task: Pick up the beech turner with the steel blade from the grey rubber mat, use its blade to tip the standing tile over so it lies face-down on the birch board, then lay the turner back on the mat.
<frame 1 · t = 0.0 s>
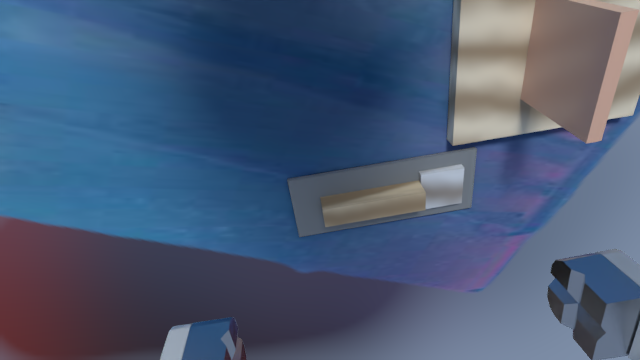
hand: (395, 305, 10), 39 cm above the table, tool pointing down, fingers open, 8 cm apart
turner: (370, 197, 56), point 1 cm above the table, touching mat
board: (549, 40, 47), on the table
mat: (383, 192, 56), on the table
tile: (534, 48, 45), point 2 cm above the table, touching board
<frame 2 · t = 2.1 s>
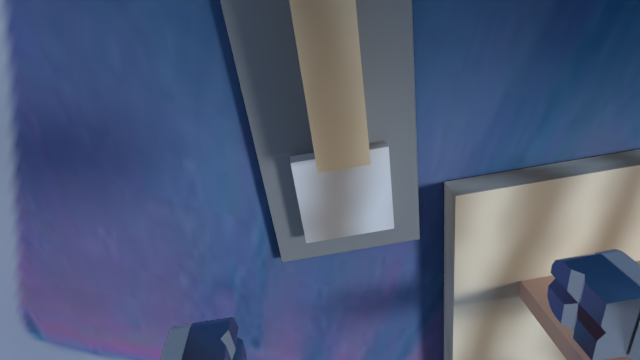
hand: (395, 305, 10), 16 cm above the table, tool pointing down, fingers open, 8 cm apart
turner: (321, 30, 21), point 1 cm above the table, touching mat
board: (574, 286, 33), on the table
mat: (325, 65, 23), on the table
tile: (598, 275, 29), point 2 cm above the table, touching board
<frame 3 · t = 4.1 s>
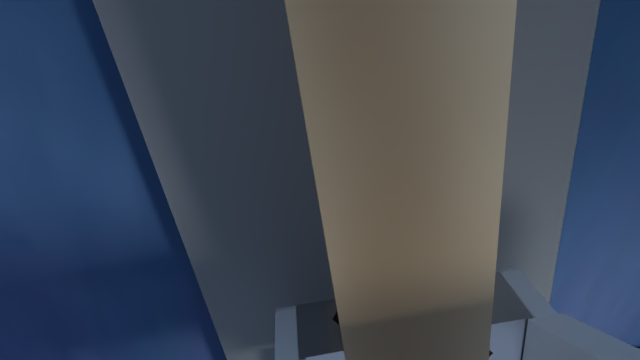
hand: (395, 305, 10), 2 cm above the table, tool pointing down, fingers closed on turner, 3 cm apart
turner: (370, 104, 9), point 1 cm above the table, touching gripper, mat
mat: (371, 172, 10), on the table
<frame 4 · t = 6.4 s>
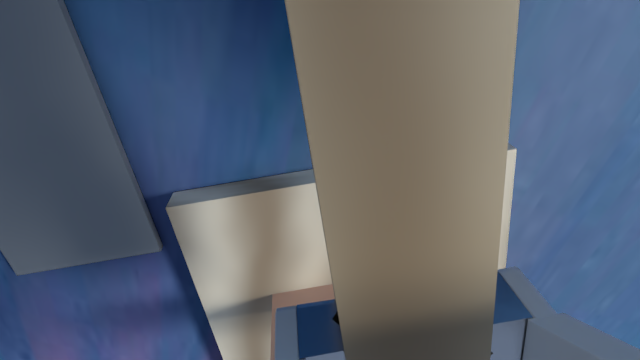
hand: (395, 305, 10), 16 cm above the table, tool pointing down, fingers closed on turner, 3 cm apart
turner: (371, 107, 9), point 15 cm above the table, touching gripper
board: (356, 298, 32), on the table
tile: (356, 287, 28), point 2 cm above the table, touching board
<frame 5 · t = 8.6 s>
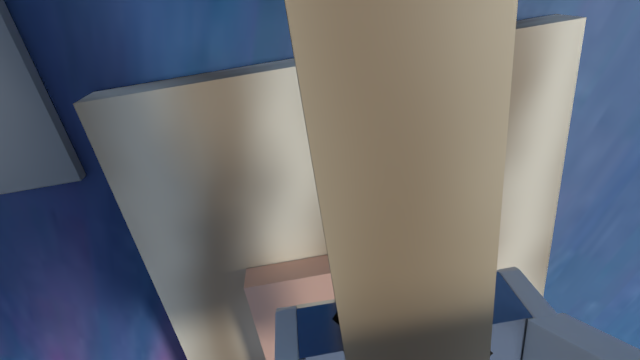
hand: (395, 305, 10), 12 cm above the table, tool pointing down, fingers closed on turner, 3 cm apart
turner: (370, 106, 9), point 11 cm above the table, touching gripper
board: (353, 255, 24), on the table
tile: (358, 258, 20), point 3 cm above the table, tilted 90°, touching board
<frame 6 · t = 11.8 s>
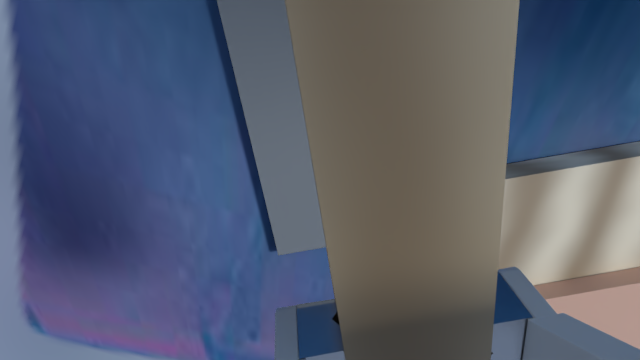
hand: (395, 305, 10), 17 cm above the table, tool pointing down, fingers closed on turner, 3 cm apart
turner: (371, 110, 9), point 16 cm above the table, touching gripper
board: (562, 278, 33), on the table
mat: (319, 63, 24), on the table
tile: (589, 283, 30), point 3 cm above the table, tilted 90°, touching board
when the fingers open (3 cm above the table, at t = 14.6 s): turner drops 1 cm, resting on mat.
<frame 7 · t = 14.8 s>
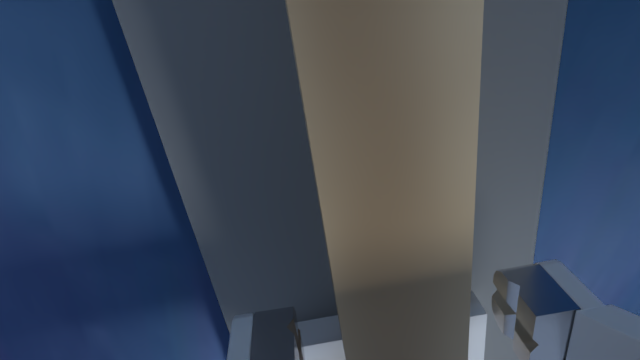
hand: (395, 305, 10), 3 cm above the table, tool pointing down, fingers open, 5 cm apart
turner: (363, 98, 10), point 1 cm above the table, touching mat
mat: (363, 158, 11), on the table
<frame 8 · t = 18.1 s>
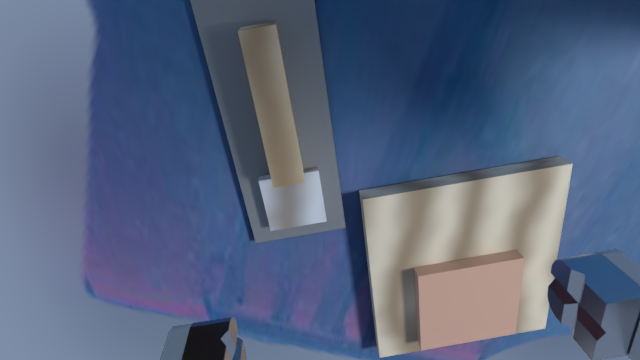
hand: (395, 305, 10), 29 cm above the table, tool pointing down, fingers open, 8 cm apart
turner: (274, 104, 36), point 1 cm above the table, touching mat
board: (458, 261, 48), on the table
mat: (278, 121, 38), on the table
tile: (468, 262, 44), point 3 cm above the table, tilted 90°, touching board
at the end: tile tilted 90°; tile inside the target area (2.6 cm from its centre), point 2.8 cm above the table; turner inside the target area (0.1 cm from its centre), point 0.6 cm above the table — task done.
